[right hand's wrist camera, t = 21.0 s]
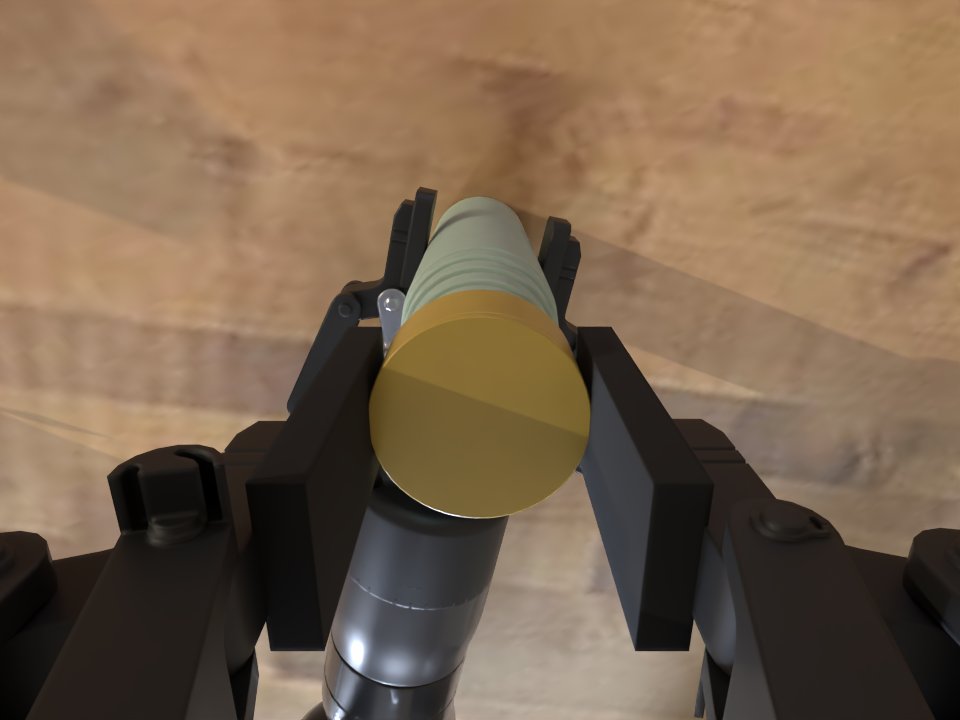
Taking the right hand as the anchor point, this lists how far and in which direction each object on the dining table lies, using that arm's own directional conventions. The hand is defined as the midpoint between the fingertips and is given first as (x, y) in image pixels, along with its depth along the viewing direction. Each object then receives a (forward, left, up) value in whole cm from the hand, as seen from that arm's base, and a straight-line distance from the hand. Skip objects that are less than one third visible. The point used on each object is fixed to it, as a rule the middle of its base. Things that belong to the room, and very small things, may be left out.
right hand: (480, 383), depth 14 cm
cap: (0, 0, +2) cm, 2 cm away
